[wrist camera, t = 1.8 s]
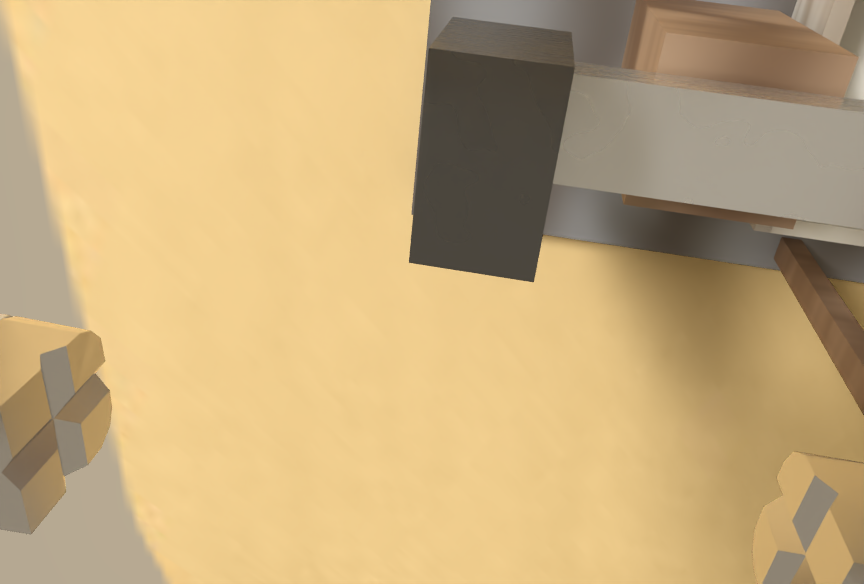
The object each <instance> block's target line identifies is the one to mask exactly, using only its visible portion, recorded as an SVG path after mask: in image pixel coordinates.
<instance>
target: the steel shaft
mask: <svg viewBox="0 0 864 584" xmlns="http://www.w3.org/2000/svg"><path fill="white" fill-rule="evenodd" d="M553 184H558V185H565V186H572V187H579V188H586V189H593V190H599V191H606V192H613V193H620V194H627V195H634V196H640V197H647V198H654V199H661V200H668V201H675V202H682V203H688V204H695V205H702V206H709V207H716V208H723V209H729V210H736V211H743V212H750V213H757V214H764V215H771V216H777V217H784V218H791V219H798V220H805V221H812V222H818V223H825V224H832V225H839V226H846V227H853V228H860V229H864V100H860V99H852V98H845V97H837V96H829V95H822V94H814V93H807V92H799V91H792V90H784V89H776V88H769V87H761V86H754V85H746V84H739V83H731V82H724V81H716V80H708V79H701V78H693V77H686V76H678V75H671V74H663V73H656V72H648V71H640V70H633V69H625V68H618V67H610V66H603V65H595V64H587V63H580V62H574V51H573V41H572V32H567V31H559V30H551V29H544V28H536V27H528V26H520V25H513V24H505V23H497V22H489V21H482V20H474V19H466V18H458V17H452V19H451V20H450V21H449V22H448V24H447V25H446V26H445V28H444V29H443V30H442V31H441V33H440V34H439V35H438V37H437V38H436V39H435V40H434V42H433V43H432V44H431V46H430V47H429V50H428V61H427V72H426V83H425V94H424V105H423V116H422V126H421V137H420V148H419V159H418V170H417V181H416V192H415V202H414V213H413V224H412V235H411V246H410V257H409V263H415V264H421V265H427V266H434V267H440V268H447V269H453V270H459V271H466V272H472V273H478V274H485V275H491V276H497V277H504V278H510V279H516V280H523V281H529V282H534V278H535V273H536V268H537V262H538V257H539V252H540V247H541V242H542V236H543V231H544V226H545V221H546V216H547V211H548V205H549V200H550V195H551V190H552V185H553Z"/></svg>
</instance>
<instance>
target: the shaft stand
mask: <svg viewBox="0 0 864 584" xmlns="http://www.w3.org/2000/svg"><path fill="white" fill-rule="evenodd" d="M452 17H458V18H466V19H474V20H482V21H489V22H497V23H505V24H513V25H520V26H528V27H536V28H544V29H551V30H559V31H567V32H572V41H573V51H574V62H580V63H587V64H595V65H603V66H610V67H618V68H625V69H633V70H640V71H648V72H656V73H663V74H671V75H678V76H686V77H693V78H701V79H708V80H716V81H724V82H731V83H739V84H746V85H754V86H761V87H769V88H776V89H784V90H792V91H799V92H807V93H814V94H822V95H829V96H837V97H845V98H852V99H860V100H864V0H431V6H430V17H429V28H428V39H427V50H426V61H425V72H424V83H423V94H422V105H421V116H420V127H419V138H418V149H417V160H416V171H415V182H414V193H413V204H412V215H413V213H414V202H415V192H416V181H417V170H418V159H419V148H420V137H421V126H422V116H423V105H424V94H425V83H426V72H427V61H428V50H429V47H430V46H431V44H432V43H433V42H434V40H435V39H436V38H437V37H438V35H439V34H440V33H441V31H442V30H443V29H444V28H445V26H446V25H447V24H448V22H449V21H450V20H451V19H452ZM543 234H544V235H550V236H557V237H563V238H570V239H576V240H583V241H590V242H596V243H603V244H609V245H616V246H623V247H629V248H636V249H642V250H649V251H655V252H662V253H669V254H675V255H682V256H688V257H695V258H702V259H708V260H715V261H721V262H728V263H734V264H741V265H748V266H754V267H761V268H767V269H774V270H781V272H782V274H783V276H784V277H785V279H786V281H787V283H788V284H789V286H790V288H791V290H792V291H793V293H794V295H795V297H796V298H797V300H798V302H799V304H800V305H801V307H802V309H803V310H804V312H805V314H806V316H807V317H808V319H809V321H810V323H811V324H812V326H813V328H814V330H815V331H816V333H817V335H818V337H819V338H820V340H821V342H822V344H823V345H824V347H825V349H826V350H827V352H828V354H829V356H830V357H831V359H832V361H833V363H834V364H835V366H836V368H837V370H838V371H839V373H840V375H841V377H842V378H843V380H844V382H845V384H846V385H847V387H848V389H849V390H850V392H851V394H852V396H853V397H854V399H855V401H856V403H857V404H858V406H859V408H860V410H861V411H862V413H863V415H864V331H863V329H862V328H861V326H860V325H859V323H858V322H857V320H856V319H855V318H854V316H853V315H852V313H851V312H850V310H849V309H848V307H847V306H846V304H845V303H844V301H843V300H842V298H841V297H840V296H839V294H838V293H837V291H836V290H835V288H834V287H833V285H832V284H831V282H830V281H829V279H828V278H833V279H840V280H846V281H853V282H860V283H864V229H860V228H853V227H846V226H839V225H832V224H825V223H818V222H812V221H805V220H798V219H791V218H784V217H777V216H771V215H764V214H757V213H750V212H743V211H736V210H729V209H723V208H716V207H709V206H702V205H695V204H688V203H682V202H675V201H668V200H661V199H654V198H647V197H640V196H634V195H627V194H620V193H613V192H606V191H599V190H593V189H586V188H579V187H572V186H565V185H558V184H553V185H552V190H551V195H550V200H549V205H548V211H547V216H546V221H545V226H544V231H543Z"/></svg>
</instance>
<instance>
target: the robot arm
mask: <svg viewBox="0 0 864 584" xmlns="http://www.w3.org/2000/svg"><path fill="white" fill-rule="evenodd" d="M104 362H105V357H104V352H103V347H102V342H101V338H100V337H99V336H97V335H96V334H95V333H93V332H92V331H90V330H85V329H80V328H74V327H69V326H64V325H59V324H54V323H48V322H43V321H38V320H33V319H28V318H23V317H17V316H15V317H13V316H10V315H6V314H0V529H1V530H7V531H14V532H19V533H26V534H32V533H33V532H34V530H35V529H36V528H37V527H38V526H39V524H40V523H41V522H42V521H43V519H44V518H45V517H46V516H47V515H48V513H49V512H50V511H51V510H52V508H53V507H54V506H55V505H56V504H57V502H58V501H59V500H60V499H61V497H62V496H63V495H64V494H65V493H66V486H65V476H66V475H68V474H70V473H72V472H74V471H76V470H78V469H80V468H83V467H85V466H87V465H88V464H89V463H90V462H91V460H92V459H93V458H94V456H95V455H96V454H97V453H98V451H99V450H100V449H101V447H102V445H103V442H104V439H105V437H106V434H107V432H108V429H109V427H110V422H111V412H112V404H111V396H110V390H109V389H108V388H107V387H106V386H105V384H104V383H103V382H102V381H101V380H100V378H99V377H98V376H97V375H96V372H97V371H98V370H99V368H100V367H101V366H102V365H103V363H104ZM776 478H777V481H778V483H779V486H780V489H781V491H782V494H783V495H782V496H780V497H779V498H777V499H775V500H774V501H772V502H770V503H768V504H767V505H765V506H763V509H762V511H761V514H760V516H759V519H758V521H757V524H756V526H755V531H754V539H753V548H752V557H753V567H754V573H755V577H756V580H757V584H864V463H861V462H855V461H849V460H843V459H837V458H831V457H825V456H819V455H813V454H807V453H801V452H795V451H793V452H792V453H791V454H790V455H789V457H788V458H787V459H786V460H785V461H784V463H783V465H782V467H781V469H780V471H779V473H778V475H777V477H776Z"/></svg>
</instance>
